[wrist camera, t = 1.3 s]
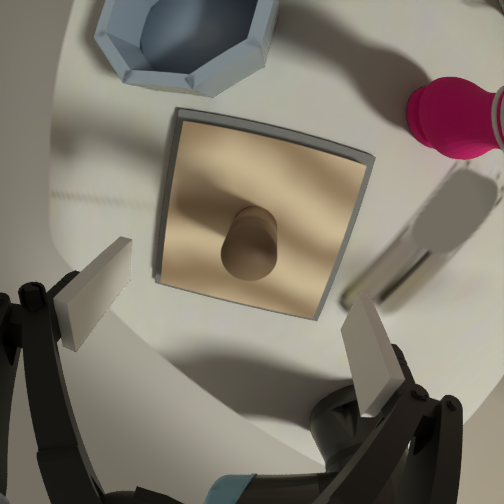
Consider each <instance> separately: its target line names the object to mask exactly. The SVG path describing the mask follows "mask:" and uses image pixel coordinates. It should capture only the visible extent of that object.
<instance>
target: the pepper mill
mask: <svg viewBox="0 0 504 504" xmlns="http://www.w3.org/2000/svg"><path fill="white" fill-rule="evenodd" d="M406 113H407V121H408V125H409V127H410V130H411V132H412V133H413V135H414V136H415V137H416V139H417V140H418V141H419V142H421V143H422V144H423V145H425V146H427V147H430V148H434V149H436V150H437V151H438V152H440V153H441V154H443V155H445V156H447V157H449V158H453V159H463V160H467V159H472V158H476V157H479V156H481V155H483V154H485V153H486V152H488V151H490V150H492V149H495V148H496V149H501V150H502V151H503V152H504V86H502V87H501V88H500V89H499V90H498V91H497V93H490V92H487V91H485V90H483V89H482V88H480V87H479V86H477V85H476V84H474V83H472V82H470V81H468V80H465V79H462V78H458V77H442V78H438V79H436V80H434V81H433V82H431V83H430V84H429V85H428V86H424V87H421V88H419V89H417V90H416V91H414V93H413V94H412V95H411V97H410V98H409V101H408V104H407V110H406Z"/></svg>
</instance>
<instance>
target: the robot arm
mask: <svg viewBox="0 0 504 504" xmlns="http://www.w3.org/2000/svg"><path fill="white" fill-rule="evenodd" d="M131 254H132V239H129V238H125V237H119V238H118V239H117V240H116V241H115V242H114V243H112V244H111V245H110V246H109V247H108V248H107V249H105V250H104V251H103V252H102V253H101V254H100V255H99V256H98V257H96V258H95V259H94V260H93V261H92V262H91V263H90V264H89V265H88V266H87V267H85V268H84V269H83V270H82V271H81V272H79V271H76V270H75V271H73V272H70V273H68V274H66V275H65V276H64V277H63V278H62V279H61V281H59V282H58V283H57V284H56V285H54V286H53V287H52V288H51V289H50V290H49V291H48V292H47V293H46V290H45V287H44V285H43V284H41V283H38V282H30V283H26V284H24V285H22V286H21V287H20V288H19V291H18V294H19V299H20V303H21V305H20V304H13V303H11V301H10V298H9V296H8V295H7V294H6V293H0V504H10V502H9V501H8V499H7V498H6V489H7V453H8V433H9V421H10V412H11V403H12V395H13V388H14V383H15V377H16V371H17V366H18V361H19V356H20V352H21V348H23V357H24V370H25V378H26V387H27V393H28V400H29V407H30V412H31V418H32V422H33V428H34V432H35V437H36V441H37V445H38V452H37V461H38V465H39V468H40V472H41V475H42V478H43V482H44V484H45V487H46V491H47V493H48V496H49V499H50V502H51V504H183V503H181V502H179V501H177V500H175V499H173V498H171V497H169V496H167V495H164V494H160V493H157V492H154V491H150V490H147V489H144V488H141V487H138V486H137V487H136V491H116V492H111V493H107V494H105V493H104V490H103V488H102V486H101V484H100V482H99V480H98V478H97V476H96V474H95V472H94V470H93V467H92V465H91V462H90V460H89V457H88V454H87V452H86V449H85V447H84V444H83V441H82V438H81V435H80V432H79V429H78V426H77V423H76V420H75V417H74V413H73V410H72V406H71V403H70V399H69V396H68V392H67V387H66V383H65V379H64V375H63V371H62V366H61V361H60V356H59V352H58V346H57V342H58V341H59V339H60V338H61V339H62V344H63V347H66V348H68V349H70V350H73V351H75V352H77V351H78V349H79V348H80V346H81V345H82V344H83V342H84V341H85V339H86V338H87V337H88V335H89V334H90V333H91V331H92V330H93V329H94V327H95V326H96V324H97V323H98V322H99V321H100V319H101V318H102V317H103V315H104V314H105V313H106V311H107V310H108V309H109V307H110V306H111V305H112V304H113V302H114V301H115V300H116V298H117V297H118V296H119V295H120V293H121V292H122V291H123V289H124V288H125V287H126V286H127V284H128V283H129V282H130V281H131ZM341 333H342V337H343V341H344V345H345V349H346V353H347V357H348V361H349V365H350V370H351V374H352V378H353V383H354V385H352V386H349V387H346V388H343V389H341V390H339V391H336V392H334V393H333V394H331V395H329V396H327V397H326V398H324V399H323V400H322V401H321V402H320V403H318V404H317V405H316V407H315V408H314V409H313V411H312V413H311V416H310V428H311V434H312V437H313V438H314V440H315V442H316V445H317V447H318V449H319V451H320V453H321V455H322V457H323V459H324V461H325V467H326V472H325V473H311V474H291V475H257V474H251V475H225V476H222V477H220V478H219V479H217V480H216V481H215V483H214V484H213V485H212V487H211V488H210V490H209V492H208V494H207V497H206V499H205V501H204V504H456V503H457V496H458V489H459V480H460V470H461V458H462V437H463V436H462V435H463V408H462V404H461V403H460V401H459V400H458V399H457V398H456V397H454V396H452V395H445V396H444V397H443V398H442V399H441V400H440V401H439V400H435V399H432V398H429V394H428V392H427V391H426V389H424V388H423V387H422V386H420V385H418V384H415V381H414V379H413V376H412V374H411V371H410V369H409V367H408V366H407V362H406V360H405V357H404V355H403V353H402V351H401V350H400V349H399V347H398V346H397V345H396V344H391V343H390V340H389V338H388V336H387V333H386V331H385V329H384V326H383V324H382V322H381V320H380V317H379V315H378V313H377V311H376V308H375V306H374V304H373V302H372V300H371V298H370V295H366V294H361V293H358V294H357V296H356V298H355V300H354V303H353V305H352V307H351V309H350V311H349V313H348V315H347V318H346V320H345V322H344V324H343V326H342V328H341ZM410 440H411V441H410ZM409 442H410V446H409V449H408V444H409Z"/></svg>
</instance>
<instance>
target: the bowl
mask: <svg viewBox="0 0 504 504" xmlns="http://www.w3.org/2000/svg"><path fill="white" fill-rule="evenodd" d="M277 18H278V0H105V3H104V6H103V9H102V12H101V15H100V18H99V21H98V24H97V28H96V31H95V34H94V39H95V40H96V42H97V44H98V45H99V47H100V48H101V50H102V51H103V53H104V54H105V56H106V57H107V59H108V61H109V62H110V64H111V65H112V67H113V68H114V70H115V71H116V73H117V74H118V76H119V77H120V79H121V81H122V83H124V84H129V85H134V86H138V87H143V88H147V89H151V90H155V91H166V92H175V93H183V94H191V95H198V96H204V97H211V98H214V97H215V96H217V95H218V94H220V93H221V92H223V91H224V90H226V89H228V88H229V87H231V86H232V85H234V84H236V83H237V82H239V81H241V80H242V79H244V78H246V77H247V76H249V75H251V74H252V73H254V72H256V71H258V70H259V69H261V68H263V67H265V63H266V59H267V55H268V52H269V48H270V44H271V40H272V36H273V33H274V29H275V25H276V21H277ZM141 48H142V49H141Z"/></svg>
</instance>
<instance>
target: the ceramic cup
mask: <svg viewBox="0 0 504 504" xmlns="http://www.w3.org/2000/svg"><path fill="white" fill-rule="evenodd" d="M498 1H499V3H500V6H501V8H502V10H503V12H504V0H498Z"/></svg>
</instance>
